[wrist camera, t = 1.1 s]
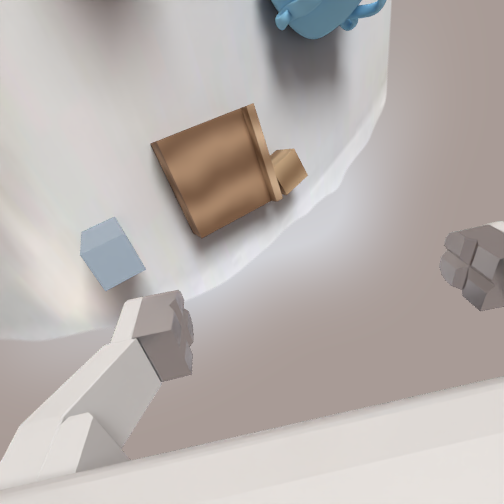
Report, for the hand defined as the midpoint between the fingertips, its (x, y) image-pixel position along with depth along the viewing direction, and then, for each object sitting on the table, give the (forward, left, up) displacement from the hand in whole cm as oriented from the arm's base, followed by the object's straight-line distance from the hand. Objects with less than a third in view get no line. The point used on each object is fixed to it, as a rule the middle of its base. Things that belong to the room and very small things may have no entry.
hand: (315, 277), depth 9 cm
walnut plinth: (+2, +12, -37) cm, 39 cm away
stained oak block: (+6, +22, -37) cm, 44 cm away
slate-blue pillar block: (+4, -6, -37) cm, 38 cm away
